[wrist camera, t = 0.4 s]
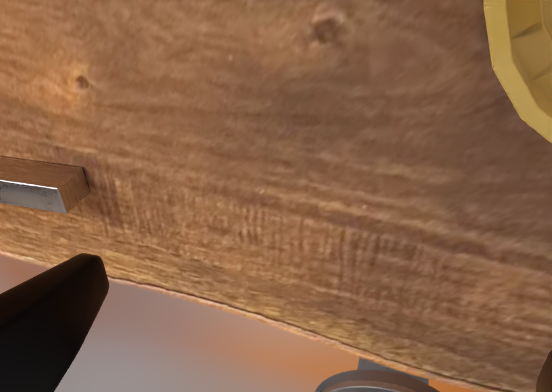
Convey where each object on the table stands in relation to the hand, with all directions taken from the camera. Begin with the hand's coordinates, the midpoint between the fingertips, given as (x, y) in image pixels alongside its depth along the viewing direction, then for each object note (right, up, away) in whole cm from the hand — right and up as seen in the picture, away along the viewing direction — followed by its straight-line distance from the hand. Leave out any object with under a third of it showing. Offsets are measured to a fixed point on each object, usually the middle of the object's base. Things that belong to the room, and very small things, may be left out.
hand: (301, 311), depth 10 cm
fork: (-20, +4, +23) cm, 31 cm away
